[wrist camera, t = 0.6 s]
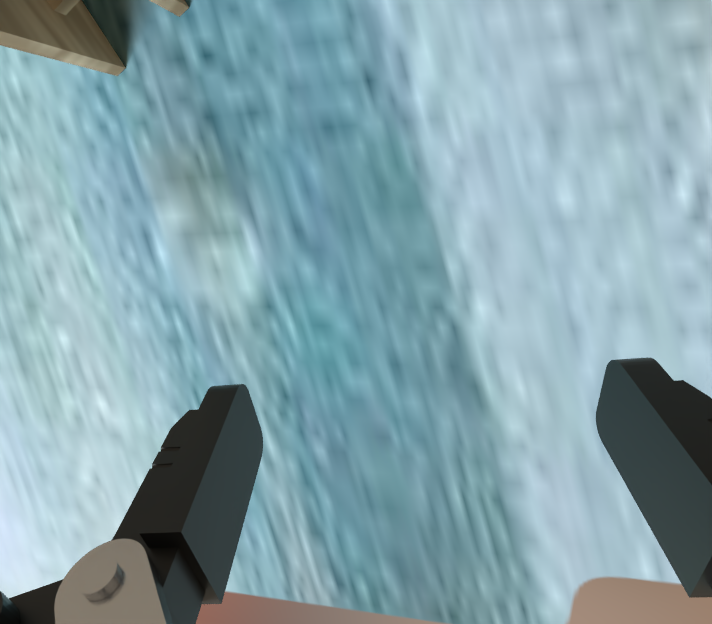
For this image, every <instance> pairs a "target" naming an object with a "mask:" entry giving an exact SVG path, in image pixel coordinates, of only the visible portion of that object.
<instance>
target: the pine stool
mask: <svg viewBox="0 0 712 624" xmlns="http://www.w3.org/2000/svg"><path fill="white" fill-rule="evenodd" d="M150 1H151V2H153V3H155V4H157V5H159V6H161V7H162V8H164V9H166V10H168V11H170V12H172V13H174V14H175V15H177V16H179V17H180V16H181V15H182V14H183V13H184V12H185V11H186V10H187V9H188V8H189V7H188V5H187V3H186V2H185V0H150ZM0 45H2V46H5V47H9V48H13V49H17V50H21V51H24V52H28V53H32V54H36V55H40V56H43V57H47V58H51V59H55V60H59V61H62V62H66V63H70V64H74V65H78V66H81V67H85V68H89V69H93V70H97V71H100V72H104V73H108V74H112V75H116V76H118V75H119V74H120V73H121V72H122V71H123V70H124V69H125V66H124V64H123V63H122V61H121V60H120V58H119V57H118V55H117V54H116V52H115V51H114V49H113V48H112V46H111V45H110V43H109V42H108V40H107V38H106V37H105V35H104V34H103V32H102V31H101V29H100V28H99V26H98V25H97V23H96V22H95V20H94V19H93V17H92V15H91V14H90V12H89V11H88V9H87V8H86V6H85V5H84V3H83V2H82V0H0Z"/></svg>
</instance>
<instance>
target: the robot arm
mask: <svg viewBox="0 0 712 624" xmlns="http://www.w3.org/2000/svg"><path fill="white" fill-rule="evenodd" d="M596 424H597V429H598V433H599V436H600V438H601V441H602V443H603V444H604V446H605V448H606V450H607V452H608V453H609V455H610V457H611V459H612V460H613V462H614V464H615V466H616V468H617V469H618V471H619V473H620V475H621V476H622V478H623V480H624V482H625V484H626V485H627V487H628V489H629V491H630V493H631V494H632V496H633V498H634V500H635V501H636V503H637V505H638V507H639V509H640V510H641V512H642V514H643V516H644V517H645V519H646V521H647V523H648V525H649V526H650V528H651V530H652V532H653V534H654V535H655V537H656V539H657V541H658V542H659V544H660V546H661V548H662V550H663V551H664V553H665V555H666V557H667V558H668V560H669V562H670V564H671V566H672V567H673V569H674V571H675V573H676V574H677V576H678V578H679V580H680V582H681V583H682V585H683V587H684V589H685V591H686V592H687V594H688V596H689V597H712V399H711V398H710V397H709V396H707V395H706V394H704V393H703V392H701V391H699V390H698V389H696V388H695V387H693V386H691V385H690V384H688V383H686V382H685V381H683V380H681V381H673V379H672V378H671V377H670V376H669V375H668V374H667V372H666V371H665V370H664V369H663V368H662V367H661V366H660V364H659V363H658V362H657V361H656V360H654V359H652V358H636V359H621V360H611V361H610V362H609V363H608V365H607V367H606V371H605V376H604V380H603V384H602V389H601V393H600V398H599V402H598V406H597V411H596ZM262 451H263V437H262V431H261V427H260V424H259V421H258V418H257V415H256V412H255V409H254V406H253V403H252V400H251V397H250V394H249V391H248V389H247V387H246V386H245V385H244V384H237V385H222V386H212V387H210V388H209V389H208V391H207V393H206V395H205V397H204V399H203V401H202V403H201V405H200V407H199V410H189V411H188V412H187V413H186V414H185V415H184V416H183V417H182V418H181V419H180V420H179V421H178V422H177V423H176V424H175V425H174V426H173V427H172V428H171V429H170V431H169V433H168V435H167V437H166V439H165V441H164V443H163V445H162V447H161V452H158V454H157V456H156V458H155V460H154V462H153V464H152V469H149V471H148V473H147V475H146V477H145V479H144V481H143V483H142V485H141V486H140V488H139V490H138V492H137V494H136V496H135V498H134V500H133V502H132V504H131V506H130V507H129V509H128V511H127V513H126V515H125V517H124V519H123V521H122V523H121V525H120V526H119V528H118V530H117V532H116V534H115V536H114V537H113V539H112V540H111V541H109V542H106V543H104V544H102V545H100V546H98V547H96V548H94V549H93V550H91V551H90V552H88V553H87V554H86V555H85V556H83V557H82V558H81V559H80V560H79V561H78V562H77V563H76V564H75V565H74V566H73V567H72V568H71V570H70V571H69V572H68V573H67V575H66V576H65V578H64V579H63V580H60V581H57V582H55V583H52V584H49V585H46V586H43V587H40V588H37V589H35V590H32V591H29V592H26V593H23V594H20V595H18V596H15V597H12V598H9V599H8V598H7V597H6V596H5V595H4V594H3V593H2V592H1V591H0V624H196V620H197V617H198V614H199V611H200V607H201V604H221V603H222V599H223V596H224V592H225V589H226V585H227V581H228V578H229V574H230V570H231V567H232V563H233V560H234V556H235V552H236V549H237V545H238V541H239V538H240V534H241V530H242V527H243V523H244V519H245V516H246V512H247V508H248V505H249V501H250V497H251V494H252V490H253V486H254V483H255V479H256V475H257V472H258V468H259V464H260V461H261V457H262Z"/></svg>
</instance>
